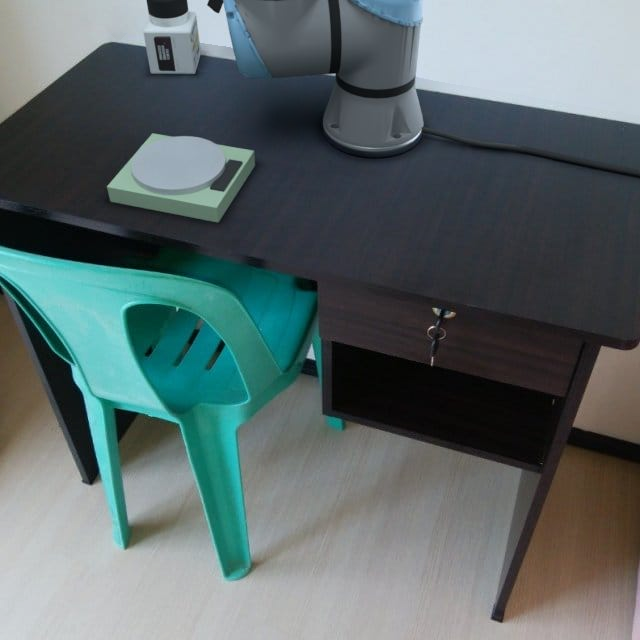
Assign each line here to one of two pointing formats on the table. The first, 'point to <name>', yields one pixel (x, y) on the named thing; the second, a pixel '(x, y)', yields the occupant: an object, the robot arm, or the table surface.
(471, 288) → the table surface
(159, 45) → the container
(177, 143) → the scale
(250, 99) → the table surface
